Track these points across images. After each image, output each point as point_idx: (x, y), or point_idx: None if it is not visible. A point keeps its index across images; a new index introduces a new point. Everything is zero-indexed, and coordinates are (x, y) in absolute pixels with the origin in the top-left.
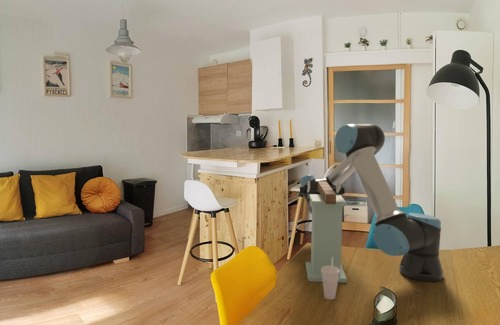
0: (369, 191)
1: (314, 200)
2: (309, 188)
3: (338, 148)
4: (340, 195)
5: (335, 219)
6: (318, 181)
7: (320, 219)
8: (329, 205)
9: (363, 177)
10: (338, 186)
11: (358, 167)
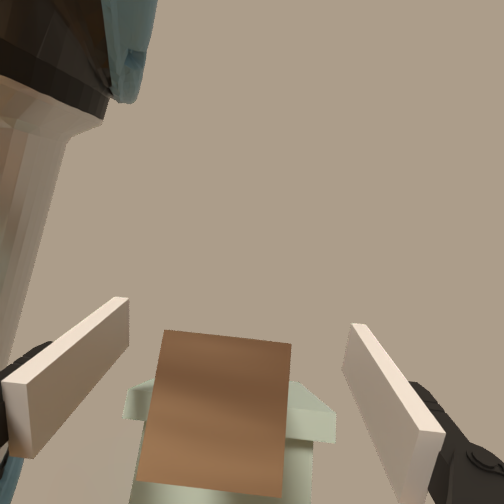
0: (15, 331)
1: (291, 383)
2: (354, 393)
3: (150, 32)
4: (139, 385)
5: None
6: (283, 343)
7: None
8: None
9: (34, 258)
10: (122, 340)
11: (50, 197)
